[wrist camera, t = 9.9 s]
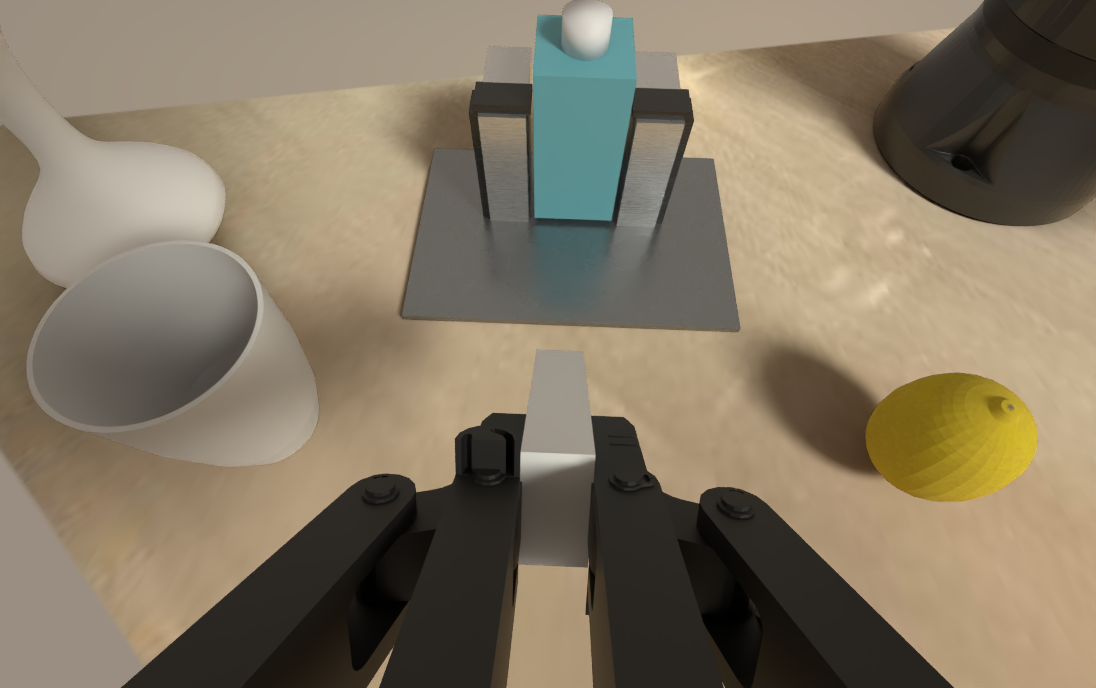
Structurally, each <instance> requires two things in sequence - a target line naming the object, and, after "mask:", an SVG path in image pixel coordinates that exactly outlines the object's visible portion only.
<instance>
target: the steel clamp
mask: <svg viewBox="0 0 1096 688" xmlns="http://www.w3.org/2000/svg"><path fill="white" fill-rule="evenodd" d="M635 60H636V74H637V81H636V87H635V92H634V98H633V104H632V109H631V115H630V120H629V126H628V131H627V137H626V142H625V148H624V153H623V159H622V164H621V170H620V175H619V181H618V186H617V192H616V197H615V203H614V209H613V214H612V220H611V221H607V220H581V219H555V218H535V211H534V152H533V117H532V52H531V48H527V47H526V48H525V47H500V46H488V51H487V57H486V65H485V71H484V78H483V82H476V85H475V90H472V96H471V102H470V108H469V117H470V124H471V132H472V139H473V146H474V150H466V149H439V148H434V153H433V159H432V164H431V169H430V174H429V179H428V184H427V189H426V194H425V199H424V204H423V209H422V215H421V220H420V225H419V230H418V235H417V240H416V245H415V250H414V255H413V260H412V266H411V271H410V276H409V281H408V286H407V291H406V296H405V301H404V306H403V311H402V318H403V319H411V320H437V321H463V322H489V323H515V324H541V325H567V326H593V327H618V328H644V329H670V330H696V331H722V332H739V330H740V323H739V317H738V310H737V304H736V298H735V291H734V285H733V279H732V272H731V266H730V260H729V254H728V247H727V241H726V235H725V228H724V222H723V216H722V209H721V203H720V197H719V190H718V184H717V178H716V171H715V165H714V159H708V158H683V154H684V151H685V148H686V145H687V142H688V138H689V135H690V132H691V129H692V126H693V122H694V118H693V110H692V103H691V98H690V97H689V90H687V89H680V82H679V74H678V66H677V59H676V53H664V52H637V51H635Z"/></svg>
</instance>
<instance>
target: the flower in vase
mask: <svg viewBox="0 0 1096 688" xmlns="http://www.w3.org/2000/svg"><path fill="white" fill-rule="evenodd" d="M0 123H1V124H3V125H4V126H5V127H6V128H7V129H8V130H10V131H11V132H12V133H13V134H14V135H15V136H16V137H17V138H18V139H19V140H20V141H21V142H22V143H23V144H24V145H25V146H26V147H27V148H28V149H29V150H30V152H31V153H32V154H33V156H34V157H35V158H36V159H37V161H38V164H39V166H40V175H39V178H38V181H37V183H36V185H35V187H34V189H33V191H32V193H31V196H30V198H29V201H28V203H27V206H26V209H25V212H24V219H23V228H22V243H23V246H24V250H25V252H26V254H27V255H28V257H29V259H30V260H31V262H32V264H33V266H34V267H35V269H36V270H37V271H38V272H39V273H40V274H41V276H43V277H44V278H46V279H47V280H48V281H50V282H52V283H54V284H56V285H58V286H61V287H64V288H68V287H69V286H70V285H71V284H73V283H74V282H75V281H76V280H77V279H79V278H80V277H81V276H83V275H84V274H85V273H87V272H88V271H90V270H91V269H93V268H94V267H96V266H98V265H99V264H101V263H103V262H105V261H107V260H109V259H111V258H113V257H115V256H117V255H119V254H122V253H124V252H126V251H129V250H132V249H135V248H138V247H141V246H145V245H149V244H153V243H159V242H165V241H176V240H191V241H201V242H207V243H209V242H210V241H211V240H212V239H213V237H214V236H215V234H216V232H217V231H218V229H219V227H220V224H221V222H222V219H223V215H224V210H225V201H226V193H225V187H224V184H223V181H222V179H221V177H220V175H219V174H218V172H217V171H216V170H215V169H214V168H213V167H212V166H211V165H209V164H208V163H207V162H205V161H204V160H202V159H201V158H199V157H198V156H196V155H194V154H193V153H191V152H189V151H186V150H184V149H181V148H178V147H174V146H169V145H164V144H158V143H151V142H135V141H112V142H106V141H97V140H93V139H91V138H89V137H87V136H85V135H83V134H82V133H81V132H79V131H78V130H77V129H75V128H74V127H73V126H72V125H71V124H69V123H68V122H67V121H66V120H65V119H64V118H63V117H62V116H61V115H60V114H59V113H58V112H57V111H56V110H55V109H54V108H53V106H52V105H51V104H50V103H49V102H48V101H47V100H46V98H44V96H43V95H42V94H41V93H40V92H39V91H38V89H37V88H36V87H35V85H34V84H33V83H32V82H31V80H30V79H29V78H28V76H27V75H26V74H25V72H24V71H23V70H22V68H21V67H20V65H19V63H18V62H17V60H16V59H15V58H14V56H13V54H12V53H11V51H10V49H9V47H8V45H7V43H6V40H5V38H4V36H3V34H2V31H1V27H0Z"/></svg>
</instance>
